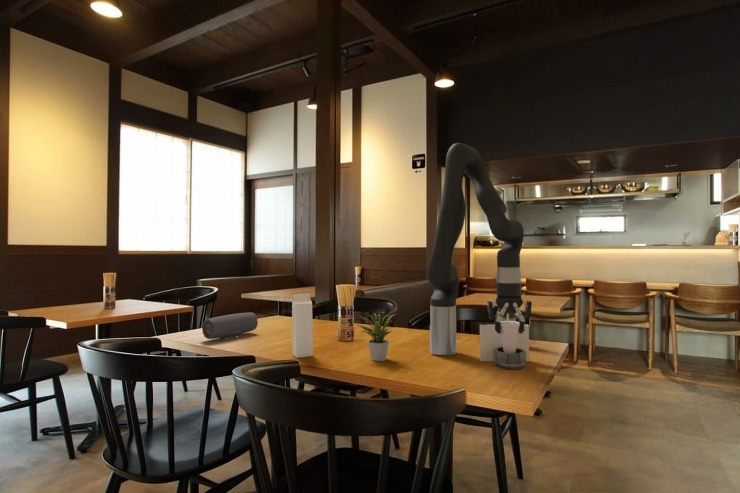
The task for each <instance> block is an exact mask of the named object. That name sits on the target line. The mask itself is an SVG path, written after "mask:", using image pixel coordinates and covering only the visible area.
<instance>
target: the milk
mask: <svg viewBox="0 0 740 493" xmlns="http://www.w3.org/2000/svg"><path fill="white" fill-rule="evenodd" d="M291 304H292V305H291V316H292V317H291V327H292V328H291V329H292V330H291V333H292V336H291V339H292V340H291V342H292V343H291V344H292V347H291V348H292V352H291V353H292V355H293V356H294V357H295V359H297V358H298V359H299V358H306V357H313V354H314V352H313V348H314V347H313V302H312V299H311V293H297V294H296V293H295V294H293V300H292V301H291Z"/></svg>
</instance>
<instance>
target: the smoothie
mask: <svg viewBox="0 0 740 493" xmlns="http://www.w3.org/2000/svg"><path fill="white" fill-rule="evenodd" d="M519 326H520V323H519V322H518V321H517V320H516V321H509V318H508V313H507V321H500V329H501V336H502V344H503V351H504V353H516V346H517V337H518V329H519Z"/></svg>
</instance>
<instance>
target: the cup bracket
mask: <svg viewBox="0 0 740 493" xmlns="http://www.w3.org/2000/svg"><path fill="white" fill-rule="evenodd" d="M494 359H495V361H494V366H495V367H496V368H498V369H502V370H507V371H518V370H519V371H520V370H524V369H525V368H526V362H527V361H526V351H524V350H523V349H520V348H516V353H504V351H503V347H498V348H495V349H494Z"/></svg>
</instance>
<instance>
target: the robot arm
mask: <svg viewBox="0 0 740 493" xmlns="http://www.w3.org/2000/svg"><path fill="white" fill-rule="evenodd" d="M445 157H446V158H445V165H444V166H445V167H444V168H445V169H444V180H443V181H444V182H443V188H442V189H443V190H442V195H441V200H440V207H439V211H438V219H437V224H436V230H435V235H434V236H435V237H434V244H433V249H432V252H431V256H430V258H429V259H430V260H429V264H428V268H427V272H426V276H427V277H426V278H427V280H428V282H429V284H430V285H431V286H432V287H433V294H432V295H431V297H430V300H429V301H430V302H429V303H430V304H429V305H430V307H429V308H430V310H429V311H430V312H429V313H430V317H429V318H430V324H429V351H430V355H437V356H452V355H457V298H458V295H459V294H458V291H459V273H458V269H457V267H456V265H455V264H454V263H452V260H453V253H454V249H455V246H456V244H457V242H458V240H459V238H460V236H461V233H462V231H463V228H464V223H465V219H466V212H467V204H466V200H465V195H464V189H463V180H464V179H463V178H464V174H466V176H467V177H468V178H469V179H470V181H471V182H472V185H473V187H474V192H475V196H476V199H477V200H476V201H477V203H478V205H479V206H480V208H481V209H482V211H483V213H484V215H485V216H486V218H487V219H486V220H487V223H488V226H489V229H490V232H491V234H492V235H493V237H494V238H495V239H496V240H498V241H500V242H503V245H502V248H501V249H499V250H497V253H496V265H497V268H496V277H495V279H496V280H495V281H496V298H495V300H487V301H486V306H487V313H488V314H487V315H488V319H489V320H490V321H494V325H495V331H496V332H497V333H498V334H500V333H501V330H500V322H499V321H500V319H501V317H502V316H503V315H504V313H515V316H516V317H517V318H518V321H517V322H519V323H520V326H519V329H518V332H519V333H520V334H522V333H523V332H524V325H525V322H526V321H530V320H531V317H532V316H531V315H532V305H533V302H532V301H530V300H524V299H522V272H521V257H520V256H521V255H520V254H521V251H522V247H523V242H524V236H525V234H524V232H525V231H524V230H525V229H524V227H523V224H522V223H521V222H520V221H519V220H517V219H508V218H507V216H506V213H507V210H508V208H507V205H506V204H505V202H504V200H503V199H502V197H501V195H500V194H499V192H498V191H497V189H496V188H495V186H494V184H493V183H492V180H491V179H490V176H489V174H488V171H487V170H486V167H485V165H484V162H483V159H482V157H481V155H480V153H479V151H478V150H477V149H476V148H475V147H474V146H470V145H468V144H465V143H462V142H456V143H453V144H452V145H451V146H450V147H449V149H448V151H447V153H446V156H445ZM522 305H523V307H524V314H523V313H522V311H521V309H520V308H521V307H522ZM495 306H497V307H498V309H497V311H496V314H494V308H495Z"/></svg>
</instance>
